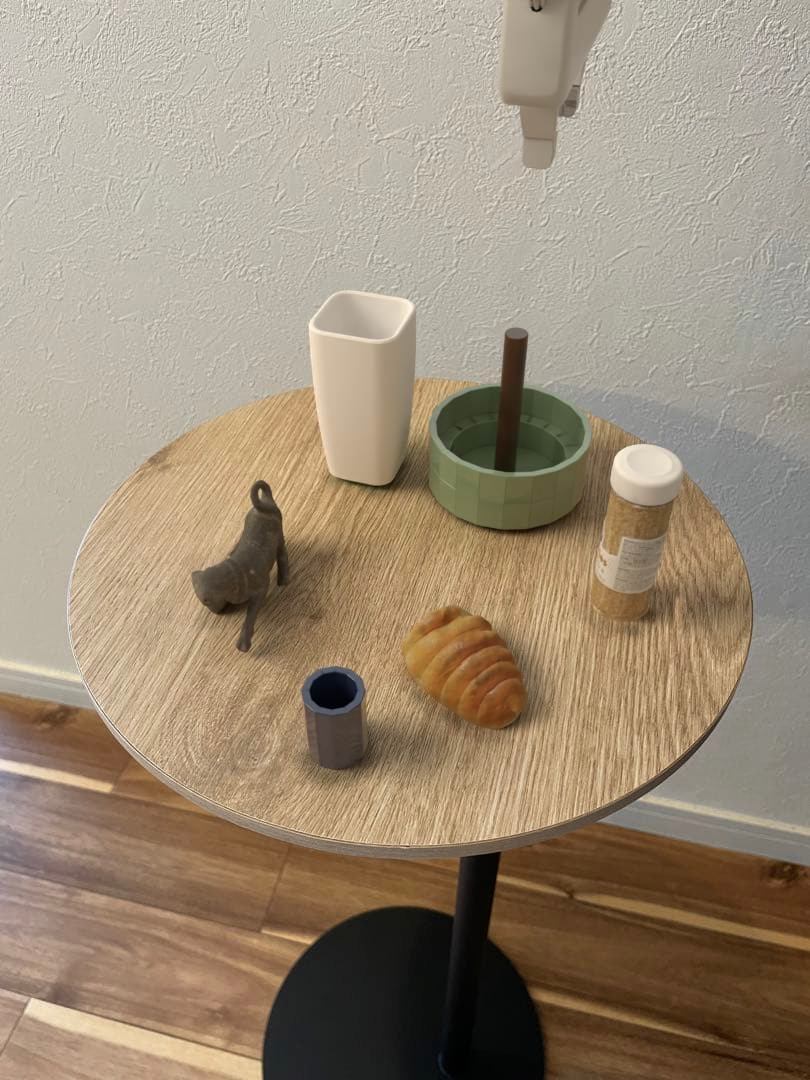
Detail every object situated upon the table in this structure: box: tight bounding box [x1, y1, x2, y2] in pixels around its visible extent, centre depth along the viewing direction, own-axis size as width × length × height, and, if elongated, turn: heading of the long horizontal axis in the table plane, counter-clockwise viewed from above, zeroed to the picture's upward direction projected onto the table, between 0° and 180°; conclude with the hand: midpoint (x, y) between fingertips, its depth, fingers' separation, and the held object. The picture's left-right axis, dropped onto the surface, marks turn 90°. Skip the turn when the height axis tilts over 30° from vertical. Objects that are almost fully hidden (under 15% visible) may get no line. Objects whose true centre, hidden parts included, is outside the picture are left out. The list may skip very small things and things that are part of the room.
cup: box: [308, 289, 417, 487], centre depth 80 cm, size 7×7×15 cm
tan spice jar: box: [588, 443, 684, 623], centre depth 68 cm, size 5×5×14 cm
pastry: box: [401, 604, 529, 730], centre depth 65 cm, size 9×7×4 cm
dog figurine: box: [190, 479, 290, 653], centre depth 70 cm, size 12×6×7 cm, turn 166°
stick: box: [494, 326, 530, 472], centre depth 78 cm, size 2×2×14 cm
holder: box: [300, 665, 369, 770], centre depth 60 cm, size 4×4×6 cm
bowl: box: [427, 382, 594, 530], centre depth 81 cm, size 13×13×6 cm
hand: (551, 137), depth 61 cm, fingers open, 8 cm apart
